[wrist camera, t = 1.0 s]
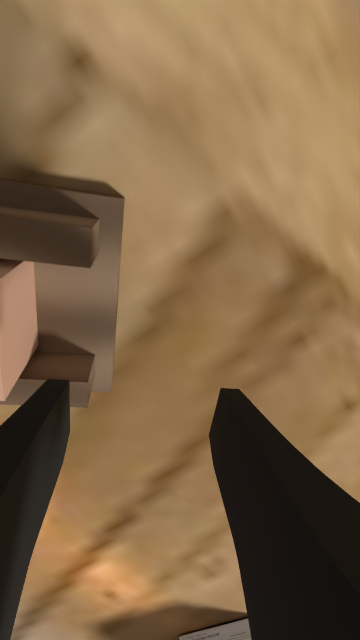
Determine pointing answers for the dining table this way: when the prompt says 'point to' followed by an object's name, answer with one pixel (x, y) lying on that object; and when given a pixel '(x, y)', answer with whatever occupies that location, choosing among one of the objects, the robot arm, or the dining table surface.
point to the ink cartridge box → (222, 632)
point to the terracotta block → (16, 321)
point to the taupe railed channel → (66, 282)
